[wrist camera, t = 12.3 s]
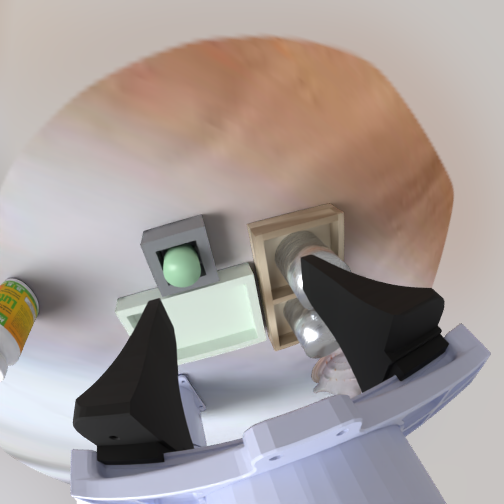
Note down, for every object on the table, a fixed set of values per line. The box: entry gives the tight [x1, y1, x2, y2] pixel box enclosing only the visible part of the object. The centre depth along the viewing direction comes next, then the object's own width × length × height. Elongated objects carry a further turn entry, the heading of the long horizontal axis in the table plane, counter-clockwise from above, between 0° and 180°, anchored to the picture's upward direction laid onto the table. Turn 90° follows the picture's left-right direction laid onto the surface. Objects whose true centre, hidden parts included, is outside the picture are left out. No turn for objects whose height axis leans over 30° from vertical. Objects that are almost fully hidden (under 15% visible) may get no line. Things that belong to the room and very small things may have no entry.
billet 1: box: [275, 231, 351, 311], centre depth 22 cm, size 5×5×6 cm
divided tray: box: [247, 203, 344, 351], centre depth 26 cm, size 14×8×2 cm, turn 10°
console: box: [140, 215, 220, 297], centre depth 22 cm, size 5×5×2 cm
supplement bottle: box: [0, 279, 39, 382], centre depth 16 cm, size 5×5×10 cm
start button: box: [163, 243, 201, 287], centre depth 20 cm, size 3×3×2 cm
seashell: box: [311, 348, 362, 399], centre depth 33 cm, size 10×12×9 cm
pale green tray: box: [115, 262, 266, 365], centre depth 25 cm, size 9×13×2 cm
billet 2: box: [283, 298, 340, 358], centre depth 26 cm, size 5×5×6 cm
